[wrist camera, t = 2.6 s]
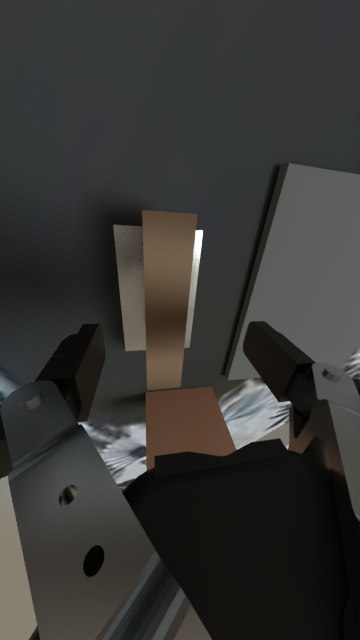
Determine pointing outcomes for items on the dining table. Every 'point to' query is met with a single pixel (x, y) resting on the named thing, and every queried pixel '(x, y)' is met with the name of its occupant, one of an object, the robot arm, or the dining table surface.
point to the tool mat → (307, 268)
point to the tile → (185, 424)
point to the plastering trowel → (159, 290)
